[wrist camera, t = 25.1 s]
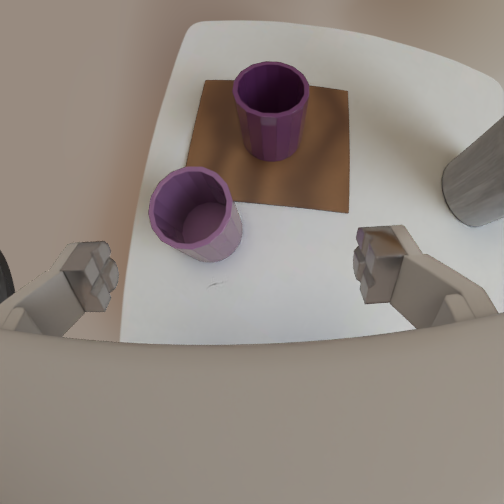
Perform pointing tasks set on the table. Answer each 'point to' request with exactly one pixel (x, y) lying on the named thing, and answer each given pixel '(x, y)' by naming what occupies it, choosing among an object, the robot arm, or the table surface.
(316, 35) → the table surface
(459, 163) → the vase
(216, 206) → the mauve cup
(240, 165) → the placemat
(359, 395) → the robot arm
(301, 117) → the plum cup
